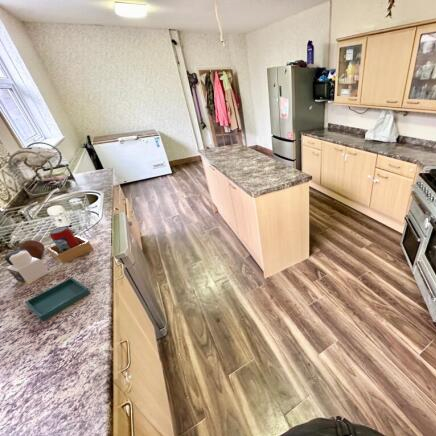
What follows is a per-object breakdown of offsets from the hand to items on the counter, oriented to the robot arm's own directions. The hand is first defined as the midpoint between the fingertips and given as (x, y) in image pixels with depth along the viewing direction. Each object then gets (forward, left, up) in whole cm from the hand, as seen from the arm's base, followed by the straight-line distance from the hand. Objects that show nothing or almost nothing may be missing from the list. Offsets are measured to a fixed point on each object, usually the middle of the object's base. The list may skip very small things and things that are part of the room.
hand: (1, 216), depth 90 cm
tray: (-4, -36, -23) cm, 43 cm away
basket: (+11, -6, -23) cm, 26 cm away
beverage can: (+11, -6, -23) cm, 26 cm away
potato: (+2, +7, -23) cm, 25 cm away
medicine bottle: (-4, -11, -23) cm, 26 cm away
